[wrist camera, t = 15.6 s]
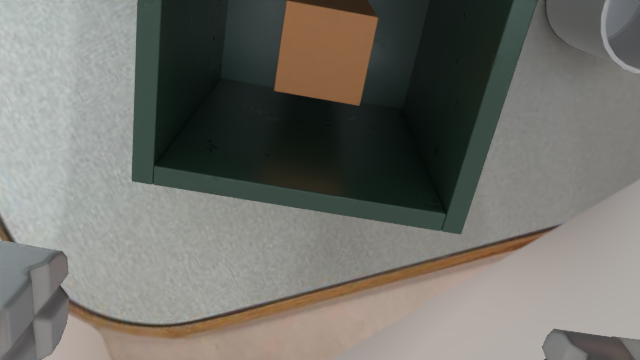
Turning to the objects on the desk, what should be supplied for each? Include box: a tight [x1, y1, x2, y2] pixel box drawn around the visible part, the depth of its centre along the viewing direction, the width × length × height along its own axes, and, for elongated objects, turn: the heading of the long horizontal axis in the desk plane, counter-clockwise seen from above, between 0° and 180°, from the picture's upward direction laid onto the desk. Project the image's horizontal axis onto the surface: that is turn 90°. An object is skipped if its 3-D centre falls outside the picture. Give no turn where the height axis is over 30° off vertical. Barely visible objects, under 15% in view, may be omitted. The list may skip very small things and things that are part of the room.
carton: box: [274, 0, 378, 106], centre depth 34 cm, size 5×5×10 cm
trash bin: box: [132, 0, 538, 234], centre depth 31 cm, size 14×16×18 cm
